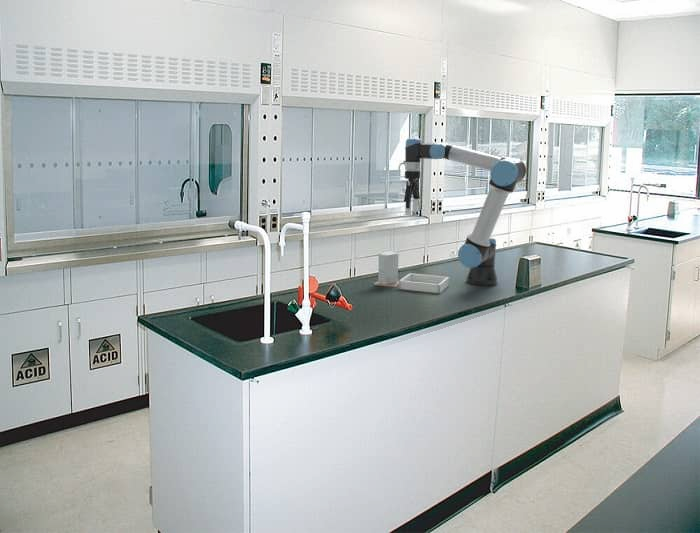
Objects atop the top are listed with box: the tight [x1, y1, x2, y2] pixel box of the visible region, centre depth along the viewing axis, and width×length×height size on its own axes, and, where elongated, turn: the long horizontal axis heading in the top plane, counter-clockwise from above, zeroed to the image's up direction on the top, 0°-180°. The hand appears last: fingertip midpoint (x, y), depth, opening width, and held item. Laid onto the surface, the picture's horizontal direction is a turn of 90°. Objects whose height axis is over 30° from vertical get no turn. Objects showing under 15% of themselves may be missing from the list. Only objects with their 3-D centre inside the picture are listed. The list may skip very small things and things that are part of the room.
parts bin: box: [398, 272, 450, 294], centre depth 335 cm, size 20×18×4 cm
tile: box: [373, 280, 399, 288], centre depth 341 cm, size 11×11×1 cm
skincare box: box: [377, 251, 399, 285], centre depth 338 cm, size 8×6×15 cm
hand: (411, 213), depth 346 cm, fingers open, 13 cm apart
